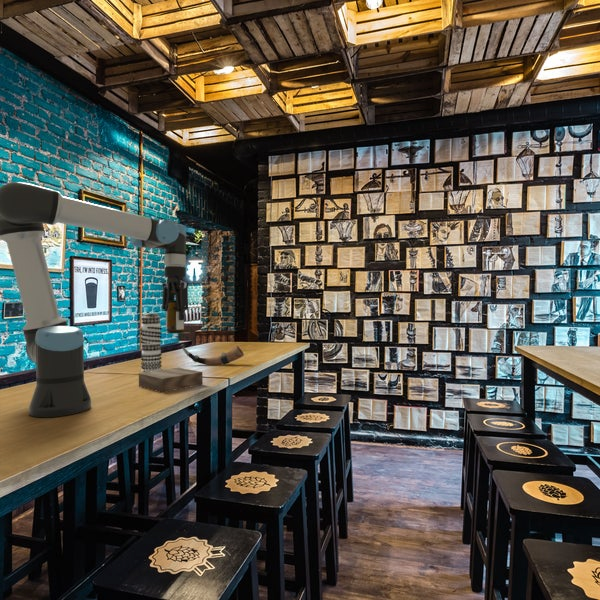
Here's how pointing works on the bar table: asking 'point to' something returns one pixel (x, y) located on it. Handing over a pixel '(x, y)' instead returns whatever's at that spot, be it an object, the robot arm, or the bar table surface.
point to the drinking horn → (222, 359)
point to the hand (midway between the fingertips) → (174, 328)
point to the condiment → (172, 318)
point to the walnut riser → (170, 379)
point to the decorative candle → (151, 342)
